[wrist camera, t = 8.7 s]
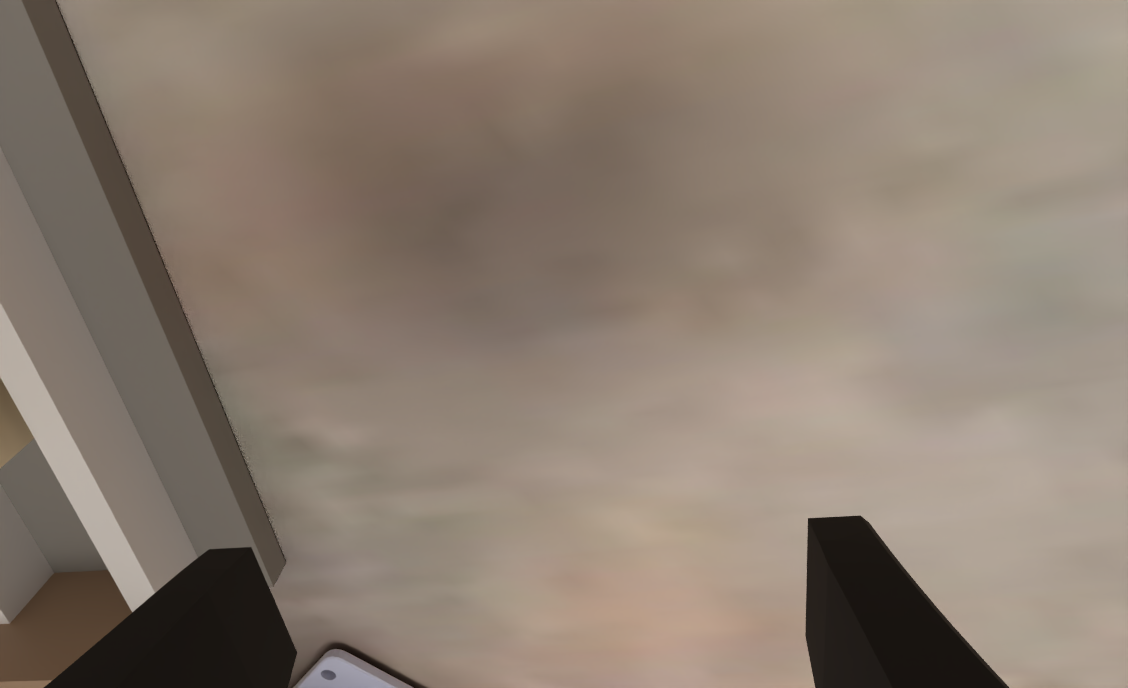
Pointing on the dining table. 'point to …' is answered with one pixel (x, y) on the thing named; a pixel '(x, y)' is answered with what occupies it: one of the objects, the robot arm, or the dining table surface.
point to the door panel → (11, 427)
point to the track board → (94, 379)
